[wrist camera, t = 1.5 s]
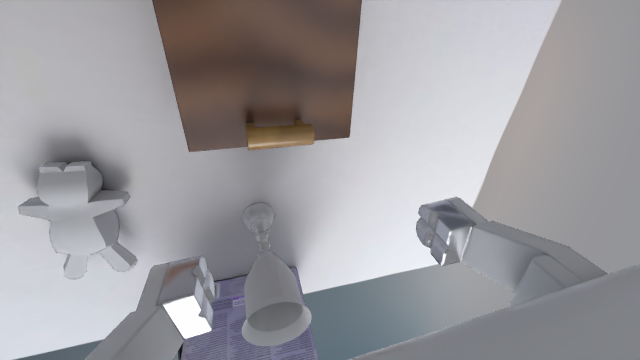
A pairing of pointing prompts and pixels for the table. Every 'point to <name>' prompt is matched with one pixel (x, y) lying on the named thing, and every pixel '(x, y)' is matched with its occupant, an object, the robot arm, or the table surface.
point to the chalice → (270, 289)
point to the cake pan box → (226, 336)
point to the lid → (261, 69)
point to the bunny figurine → (79, 216)
